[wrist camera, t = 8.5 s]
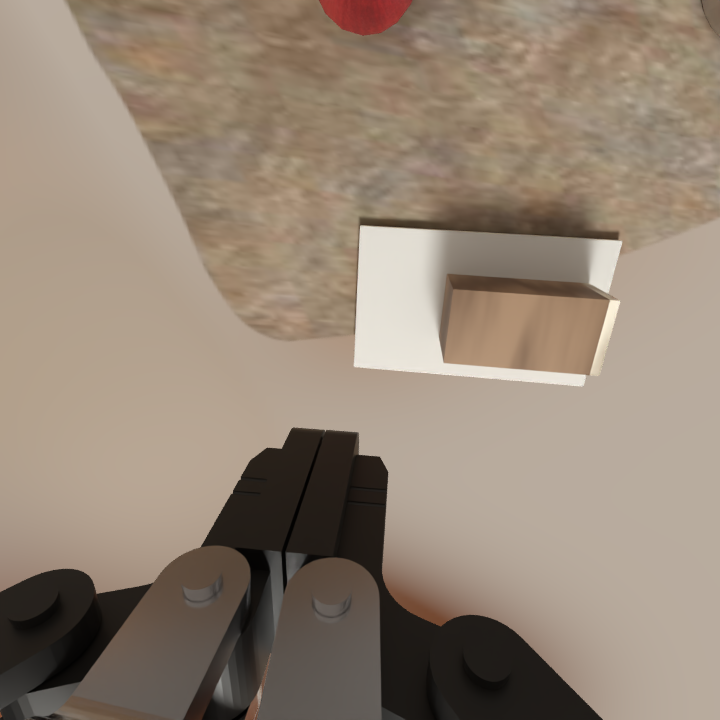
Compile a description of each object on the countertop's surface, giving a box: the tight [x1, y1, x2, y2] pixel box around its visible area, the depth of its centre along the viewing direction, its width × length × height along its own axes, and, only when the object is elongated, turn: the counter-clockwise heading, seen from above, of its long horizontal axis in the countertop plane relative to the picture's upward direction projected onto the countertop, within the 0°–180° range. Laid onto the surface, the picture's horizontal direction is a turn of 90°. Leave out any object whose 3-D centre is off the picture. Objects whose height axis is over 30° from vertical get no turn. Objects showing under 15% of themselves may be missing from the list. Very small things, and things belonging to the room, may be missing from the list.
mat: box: [354, 225, 622, 386], centre depth 33 cm, size 18×11×1 cm, turn 87°
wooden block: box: [439, 274, 620, 376], centre depth 30 cm, size 5×5×10 cm
